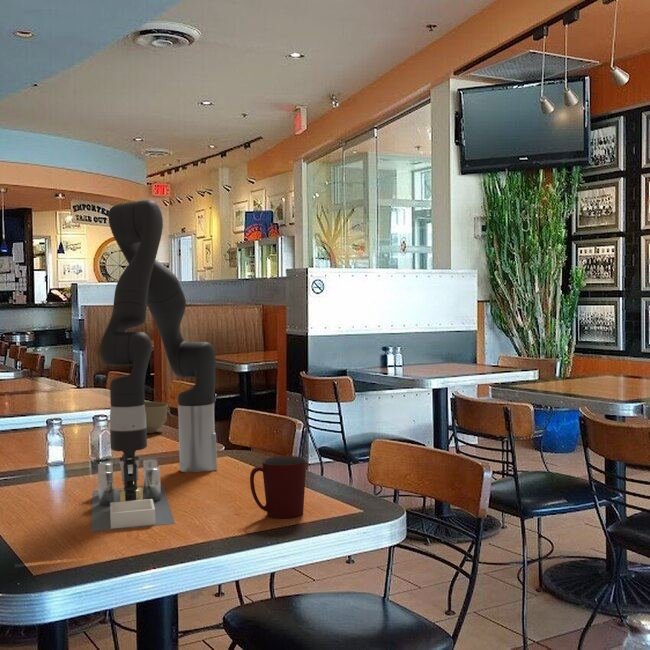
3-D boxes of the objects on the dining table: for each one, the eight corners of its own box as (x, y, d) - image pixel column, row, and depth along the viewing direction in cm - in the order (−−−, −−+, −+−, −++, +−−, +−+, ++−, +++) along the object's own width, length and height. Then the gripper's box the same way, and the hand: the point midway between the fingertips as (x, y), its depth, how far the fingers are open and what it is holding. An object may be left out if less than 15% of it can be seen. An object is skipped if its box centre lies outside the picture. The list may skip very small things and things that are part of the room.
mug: (261, 525, 159) (260, 469, 158) (242, 514, 166) (241, 461, 166) (314, 515, 165) (313, 461, 164) (294, 505, 172) (292, 454, 172)
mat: (163, 486, 192) (163, 484, 192) (175, 526, 159) (175, 523, 159) (93, 492, 188) (93, 490, 188) (90, 534, 155) (90, 531, 155)
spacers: (157, 488, 188) (157, 458, 188) (161, 501, 177) (160, 469, 176) (99, 493, 185) (98, 463, 185) (98, 506, 173) (97, 474, 173)
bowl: (164, 435, 262) (163, 405, 262) (125, 436, 262) (124, 405, 262) (172, 429, 275) (171, 399, 274) (135, 429, 275) (134, 400, 274)
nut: (143, 504, 174) (142, 486, 174) (143, 510, 169) (142, 491, 169) (120, 506, 173) (119, 487, 173) (119, 512, 168) (119, 493, 168)
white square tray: (152, 513, 167) (152, 498, 167) (155, 524, 159) (155, 509, 159) (110, 517, 165) (110, 502, 165) (110, 528, 157) (110, 513, 157)
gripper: (148, 430, 165) (150, 513, 165) (144, 420, 178) (147, 497, 179) (110, 432, 163) (112, 516, 163) (109, 422, 177) (111, 500, 177)
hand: (130, 506), depth 171 cm, fingers closed on nut, 4 cm apart
